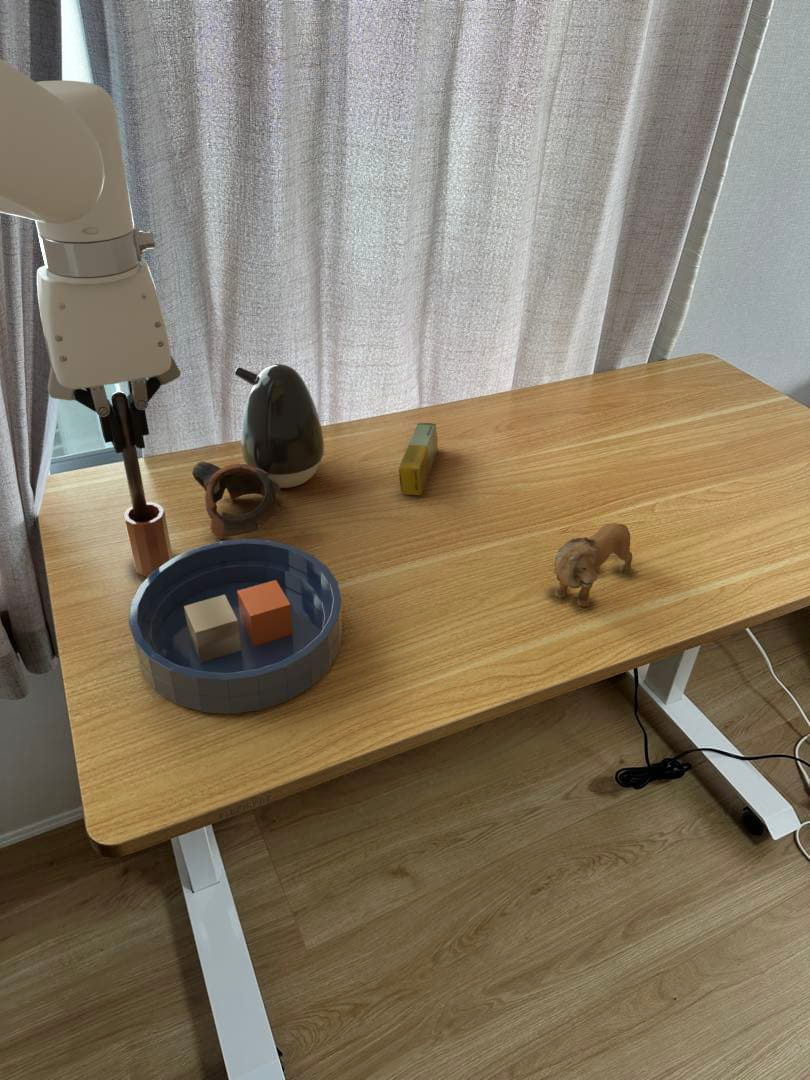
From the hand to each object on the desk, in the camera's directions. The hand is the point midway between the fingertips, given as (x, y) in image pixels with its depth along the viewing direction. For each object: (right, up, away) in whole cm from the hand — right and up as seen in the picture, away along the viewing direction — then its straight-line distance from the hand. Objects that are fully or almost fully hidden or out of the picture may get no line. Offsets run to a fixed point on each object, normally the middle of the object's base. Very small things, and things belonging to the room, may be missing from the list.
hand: (127, 443), depth 78 cm
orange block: (+13, -18, +2) cm, 22 cm away
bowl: (+11, -19, +1) cm, 22 cm away
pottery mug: (+7, -7, +17) cm, 20 cm away
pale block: (+9, -19, 0) cm, 21 cm away
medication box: (+29, -1, +27) cm, 39 cm away
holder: (0, -12, +10) cm, 16 cm away
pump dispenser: (+12, -1, +25) cm, 27 cm away
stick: (0, -8, +6) cm, 11 cm away
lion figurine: (+47, -15, +9) cm, 50 cm away
